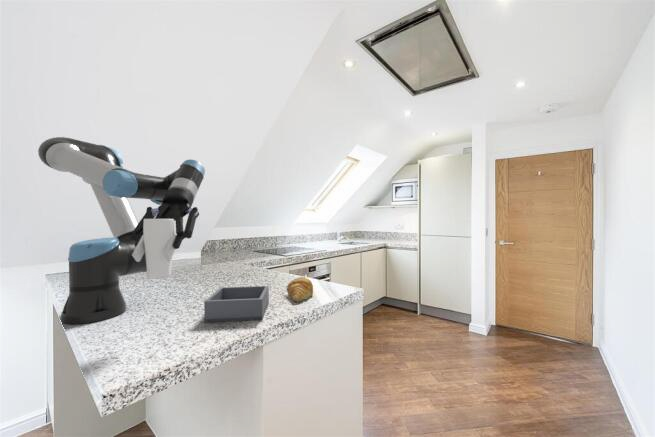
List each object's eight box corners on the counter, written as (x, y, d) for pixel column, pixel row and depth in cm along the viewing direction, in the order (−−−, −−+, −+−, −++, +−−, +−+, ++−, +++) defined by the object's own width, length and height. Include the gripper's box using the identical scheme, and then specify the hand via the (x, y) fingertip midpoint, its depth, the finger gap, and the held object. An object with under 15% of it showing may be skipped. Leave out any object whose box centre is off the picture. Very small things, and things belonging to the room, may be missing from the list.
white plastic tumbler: (136, 279, 67) (136, 218, 67) (157, 274, 74) (157, 218, 74) (160, 280, 66) (160, 218, 66) (180, 275, 73) (180, 218, 73)
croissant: (304, 313, 93) (315, 293, 93) (278, 300, 93) (289, 279, 93) (310, 295, 114) (318, 278, 114) (288, 284, 115) (297, 267, 114)
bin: (204, 322, 77) (204, 301, 77) (220, 305, 93) (220, 287, 93) (262, 320, 78) (262, 299, 78) (268, 303, 94) (268, 285, 94)
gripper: (216, 205, 86) (197, 266, 70) (151, 205, 84) (116, 267, 68) (211, 186, 81) (188, 247, 65) (141, 186, 79) (100, 248, 63)
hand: (151, 257), depth 66 cm, fingers closed on white plastic tumbler, 6 cm apart
